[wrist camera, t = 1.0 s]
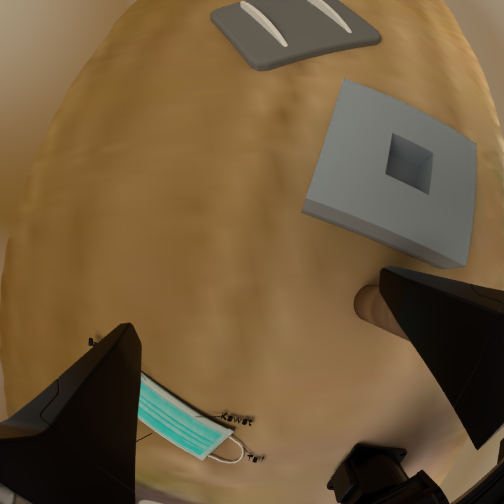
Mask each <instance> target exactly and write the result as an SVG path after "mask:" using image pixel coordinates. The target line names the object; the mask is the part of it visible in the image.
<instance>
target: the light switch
mask: <svg viewBox="0 0 504 504" xmlns="http://www.w3.org/2000/svg"><path fill="white" fill-rule="evenodd" d="M211 20H212V22H213V23H214V24H215V25H216V26H217V27H218V28H219V30H220V31H221V32H222V33H223V34H224V35H225V36H226V38H227V39H228V40H229V41H230V42H231V43H232V45H233V46H234V47H235V48H236V49H237V51H238V52H239V53H240V54H241V55H242V57H243V58H244V59H245V60H246V62H247V63H248V64H249V65H250V67H251V68H253V69H255V70H257V71H268V70H272V69H275V68H278V67H281V66H284V65H287V64H291V63H294V62H297V61H301V60H305V59H308V58H312V57H316V56H320V55H324V54H329V53H333V52H338V51H343V50H348V49H354V48H359V47H366V46H372V45H377V44H378V43H380V40H381V35H380V34H379V32H378V31H377V30H376V29H375V28H373V27H372V26H371V25H370V24H369V23H367V22H366V21H365V20H364V19H362V18H361V17H360V16H359V15H357V14H356V13H355V12H353V11H352V10H351V9H349V8H348V7H347V6H345V5H344V4H342V3H341V2H340V1H338V0H246V1H242V2H238V3H235V4H231V5H228V6H225V7H222V8H219V9H216V10H214V11H213V12H211Z"/></svg>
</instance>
